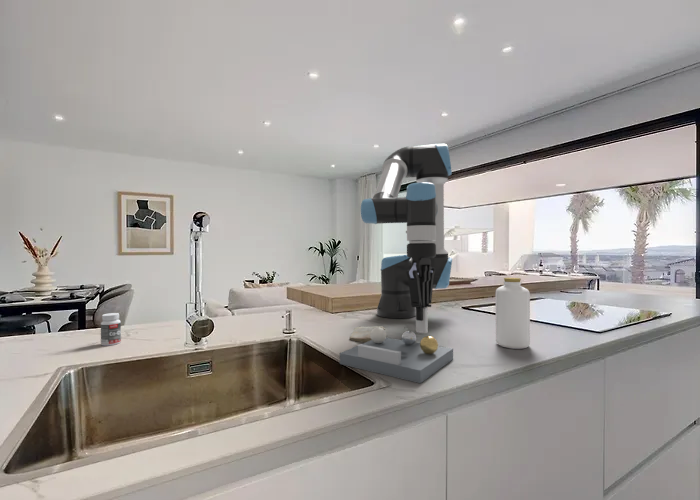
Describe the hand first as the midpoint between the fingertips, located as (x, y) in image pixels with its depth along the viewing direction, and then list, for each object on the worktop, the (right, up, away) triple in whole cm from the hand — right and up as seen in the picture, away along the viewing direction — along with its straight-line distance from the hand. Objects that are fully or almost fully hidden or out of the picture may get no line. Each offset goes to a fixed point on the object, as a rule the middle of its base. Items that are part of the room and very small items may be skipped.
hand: (421, 332), depth 93 cm
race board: (-8, -4, -11) cm, 14 cm away
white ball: (-12, 0, -4) cm, 13 cm away
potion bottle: (+25, -4, +2) cm, 25 cm away
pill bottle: (-86, -5, +7) cm, 87 cm away
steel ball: (-4, 0, -6) cm, 7 cm away
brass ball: (-1, 0, -13) cm, 13 cm away
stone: (-12, -5, +11) cm, 18 cm away
